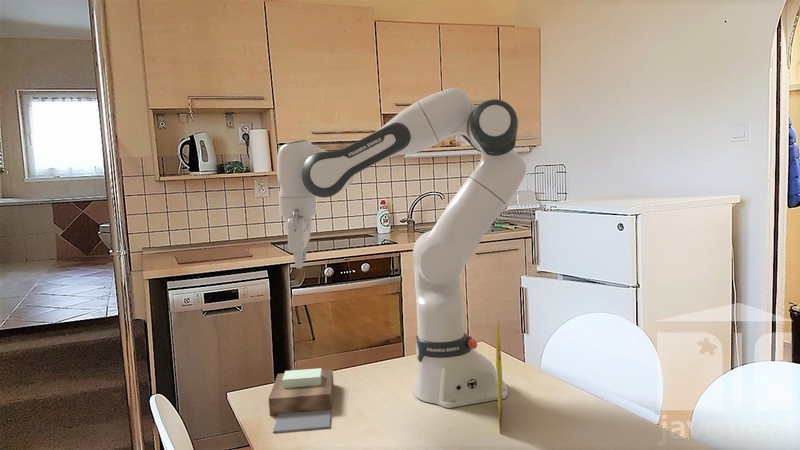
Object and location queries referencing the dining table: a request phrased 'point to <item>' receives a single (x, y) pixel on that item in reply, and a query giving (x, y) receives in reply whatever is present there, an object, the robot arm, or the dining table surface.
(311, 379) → the mint green block
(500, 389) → the food package
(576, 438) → the dining table surface
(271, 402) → the board
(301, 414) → the mat
